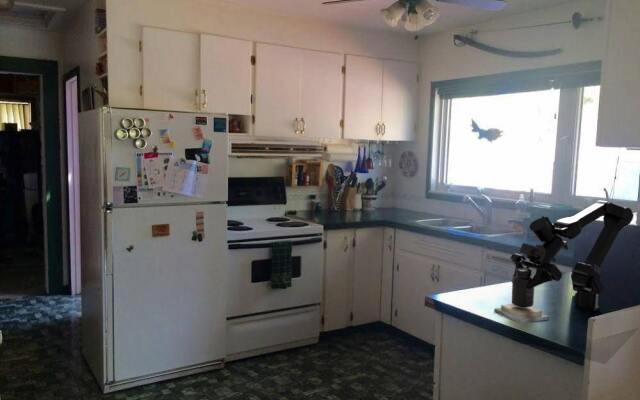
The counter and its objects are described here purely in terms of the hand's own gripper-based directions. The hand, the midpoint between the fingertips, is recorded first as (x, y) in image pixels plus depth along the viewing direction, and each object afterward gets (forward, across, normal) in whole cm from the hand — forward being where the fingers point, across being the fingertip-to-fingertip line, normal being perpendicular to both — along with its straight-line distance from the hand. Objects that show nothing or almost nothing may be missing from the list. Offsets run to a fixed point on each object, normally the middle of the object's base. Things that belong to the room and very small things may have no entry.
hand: (519, 285), depth 171 cm
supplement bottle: (+4, 0, +6) cm, 7 cm away
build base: (+6, 0, +8) cm, 10 cm away
